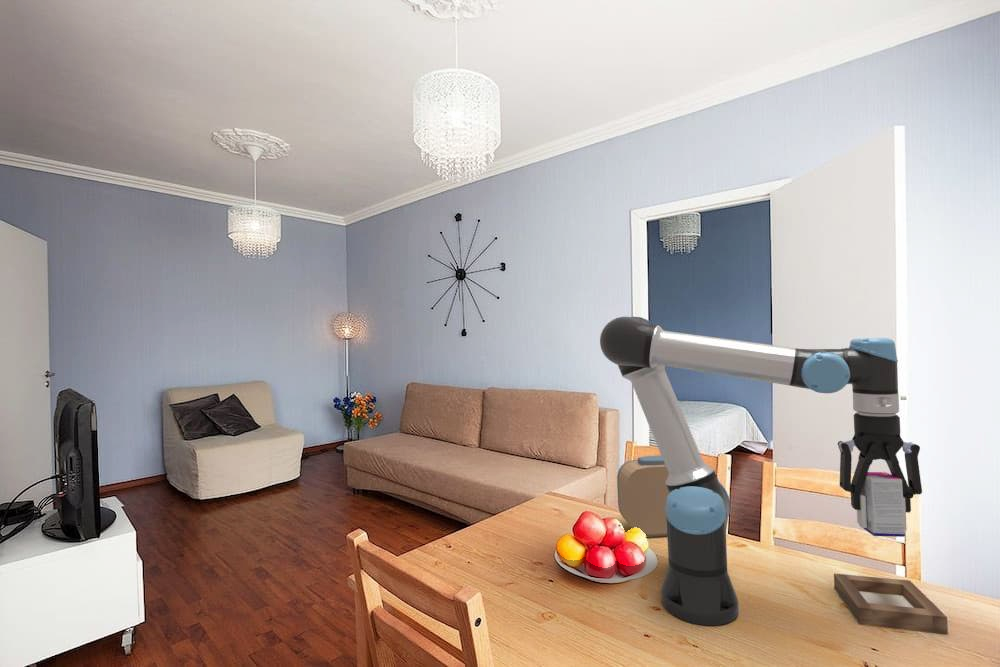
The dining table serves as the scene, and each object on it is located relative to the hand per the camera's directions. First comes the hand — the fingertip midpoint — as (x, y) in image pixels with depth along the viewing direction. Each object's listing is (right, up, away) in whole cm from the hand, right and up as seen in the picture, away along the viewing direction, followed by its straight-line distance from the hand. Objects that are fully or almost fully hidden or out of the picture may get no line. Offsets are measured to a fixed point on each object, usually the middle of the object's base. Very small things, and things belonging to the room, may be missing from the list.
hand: (881, 526), depth 100 cm
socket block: (+1, -17, 0) cm, 17 cm away
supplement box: (0, -1, 0) cm, 1 cm away
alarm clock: (-32, -19, +43) cm, 57 cm away
